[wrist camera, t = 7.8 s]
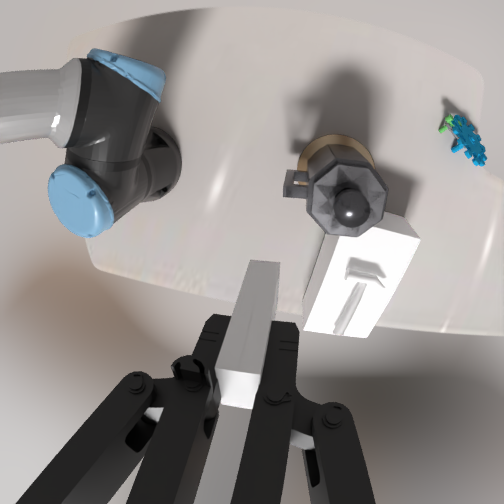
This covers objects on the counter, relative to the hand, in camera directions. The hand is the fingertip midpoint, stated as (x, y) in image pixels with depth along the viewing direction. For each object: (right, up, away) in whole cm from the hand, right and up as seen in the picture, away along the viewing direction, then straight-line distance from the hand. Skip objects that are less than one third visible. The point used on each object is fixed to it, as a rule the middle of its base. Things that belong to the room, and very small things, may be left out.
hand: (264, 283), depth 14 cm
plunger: (+13, +13, +28) cm, 34 cm away
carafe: (+12, +15, +31) cm, 37 cm away
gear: (+37, +23, +22) cm, 49 cm away
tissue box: (+20, 0, +40) cm, 44 cm away
